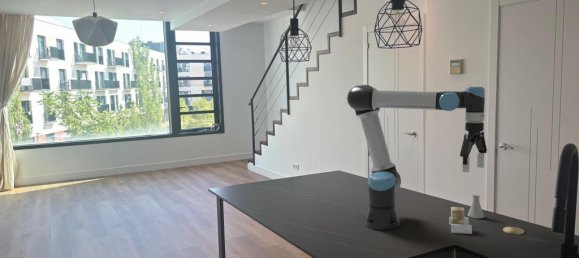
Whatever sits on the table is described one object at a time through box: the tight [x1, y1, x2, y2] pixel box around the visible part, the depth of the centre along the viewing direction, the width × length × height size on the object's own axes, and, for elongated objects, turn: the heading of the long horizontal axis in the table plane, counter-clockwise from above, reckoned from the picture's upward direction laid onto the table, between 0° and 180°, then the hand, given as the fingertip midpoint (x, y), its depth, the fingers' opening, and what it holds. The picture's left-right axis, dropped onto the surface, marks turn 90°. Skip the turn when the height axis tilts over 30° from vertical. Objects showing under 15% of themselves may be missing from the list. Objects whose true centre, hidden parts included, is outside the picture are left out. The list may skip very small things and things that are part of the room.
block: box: [450, 206, 466, 225], centre depth 189 cm, size 5×5×9 cm
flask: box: [467, 194, 486, 219], centre depth 204 cm, size 7×7×10 cm
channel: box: [448, 216, 473, 235], centre depth 189 cm, size 8×11×4 cm
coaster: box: [502, 226, 525, 236], centre depth 183 cm, size 8×8×1 cm
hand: (473, 169), depth 194 cm, fingers open, 13 cm apart
